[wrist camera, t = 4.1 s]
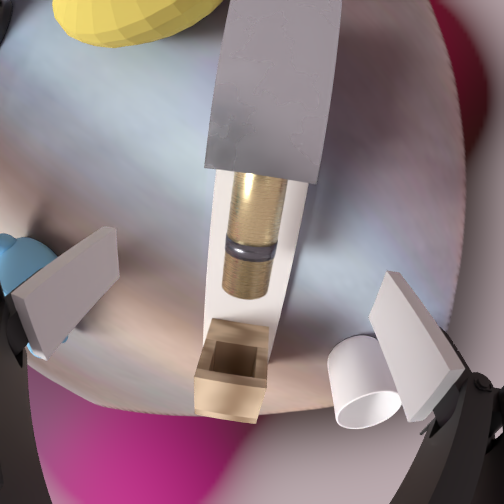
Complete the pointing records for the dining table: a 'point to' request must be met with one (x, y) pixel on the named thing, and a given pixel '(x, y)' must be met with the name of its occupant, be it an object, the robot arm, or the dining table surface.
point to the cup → (361, 383)
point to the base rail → (271, 304)
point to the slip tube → (252, 234)
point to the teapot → (21, 262)
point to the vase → (128, 19)
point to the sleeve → (274, 88)
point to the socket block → (232, 371)
